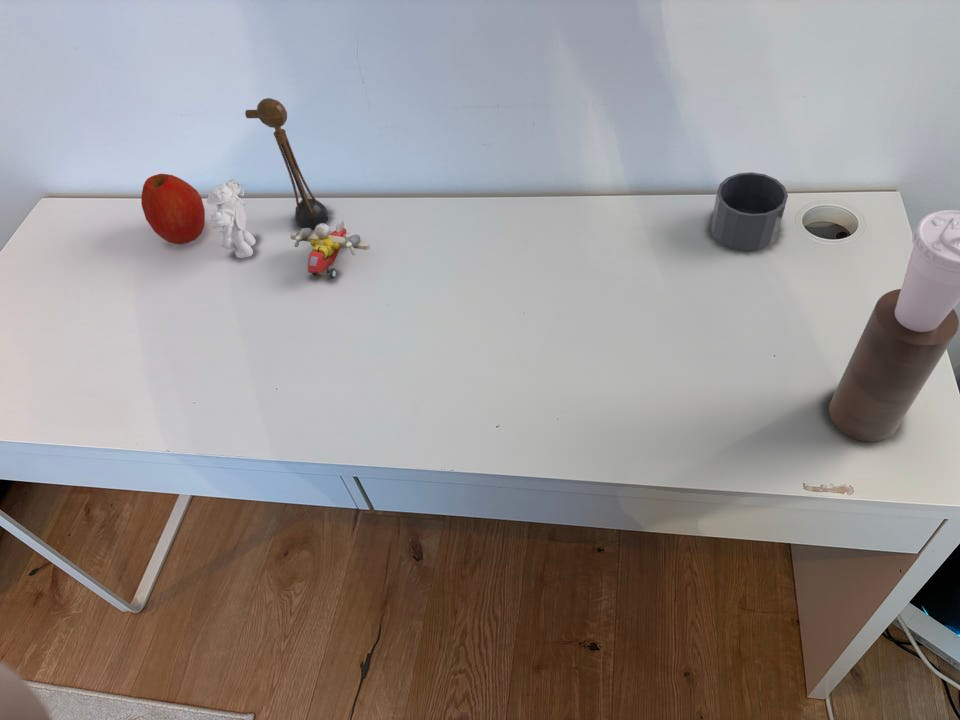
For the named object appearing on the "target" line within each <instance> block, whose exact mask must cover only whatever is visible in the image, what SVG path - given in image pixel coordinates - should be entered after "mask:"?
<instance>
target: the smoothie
mask: <svg viewBox="0 0 960 720" xmlns="http://www.w3.org/2000/svg"><path fill="white" fill-rule="evenodd" d="M911 235H912V245H913V247H912V250H911V253H910V257H909V260H908V263H907V267H906V269H905V270H906V271H905V274H904V277H903V281H902V285H901V288H900V289H901V291H900V294H899V298H898V301H897V305H896V308H895V317H896V319H897V321H898V322H899V323H900V324H901V325H903V326H904V327H906V328H908V329H910V330H913V331H918V332H928V331H932V330H934V329H936V328H937V327H938V326H939V325H940V323H941V322H942V321H943V320H944V319H945V317H946V316H947V315H948V314H949V313H950V312H951V310H952V309H955V307H956V306H957V305H958V303H959V302H960V210H957V209H944V210H938V211H935V212H931V213H929V214H927V215H925V216H924V217H923V218H921V220H920V221H919V222H918V223H917V226H916V227H915V228H914V231H913V232H912V234H911Z"/></svg>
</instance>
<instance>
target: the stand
mask: <svg viewBox="0 0 960 720" xmlns="http://www.w3.org/2000/svg"><path fill="white" fill-rule="evenodd" d="M900 291H901V288H897V289H893V290H889V291H888V292H886V293H884V294H883V295H881V297H879V298H878V300H877V301H876V302H875V303H876V304H875V306H874V308H873V310H872V312H871V314H870V316H869V318H868V320H867V323H866V324H865V327H864V329H863V331H862V333H861V335H860V337H859V340H858V341H857V344H856V346H855V348H854V350H853V352H852V355H851V357H850V359H849V361H848V363H847V365H846V368H845V369H844V372H843V374H842V376H841V378H840V381H839V383H838V385H837V387H836V389H835V391H834V393H833V396H832V398H831V400H830V402H829V406H828V415H829V418H830V419H831V421H832V423H833V425H834V426H835V427H836V428H837V429H838V430H839V431H840V432H842V433H843V434H845V435H846V436H848V437H849V438H852V439H855V440H858V441H861V442H868V443H876V442H881V441H884V440H886V439H888V438H890V437H891V436H893V435H894V433H895V432H896V431H897V430H898V427H899V426H900V424H901V423H902V421H903V419H904V418H905V416H906V415H907V413H908V412H909V410H910V409H911V406H912V405H913V404H914V402H915V401H916V399H917V398H918V395H919V394H920V393H921V391H922V389H923V388H924V386H925V384H927V383H926V382H927V381H928V380H929V378H930V376H931V374H932V373H933V372H934V370H935V368H936V367H937V365H938V363H940V360H941V359H942V357H943V355H944V354H945V352H946V351H947V350H948V348H949V346H950V344H952V343H951V342H952V341H953V339H954V338H955V336H956V335H957V333H958V331H959V327H960V320H959V316H958V314H957V312H956V311H955V308H953V309H952V310H951V312H950V313H949V314H948V315H947V316H946V317H945V319H944V320H943V321H942V322H941V323H940V325H939V326H938V327H937V328H936V329H934V330H932V331H928V332H918V331H913V330H910V329H908V328H906V327H904V326H903V325H901V324H900V323H899V322H898V321H897V319H896V317H895V308H896V305H897V301H898V298H899V294H900Z"/></svg>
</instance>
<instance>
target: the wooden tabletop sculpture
mask: <svg viewBox="0 0 960 720" xmlns="http://www.w3.org/2000/svg"><path fill="white" fill-rule="evenodd" d="M244 115H245V117H246V119H259V121H260V122H261V123H262V124H264V125H265V126H266V127H268V128H272V129H273V128H274V130H275V131H273V136H274V138H275V141H276V143H277V146H278V149H279V151H280V153H281V156H282V159H283V162H284V165H285V167H286V170H287V172H288V175H289V176H288V177H289V178H290V182H291V185H292V188H293V192H294V198H295V202H296V207H295V211H294V213H295V215H294V218H295V223H296V226H297V227H299V228H300V230H301V229H302V228H310V229H311V231H315V228H316V226H317V225H318V224H321V223H323V224H326V223H327V222H328V221H329V212H328V210H327V208H326V206H325V205H324V204H323V203H322V202H320V201H319V200H318V199H316V197H315V196H314V195H313V193H312V191H311V190H310V187H309V185H308V184H307V182H306V180H305V178H304V176H303V174H302V172H301V169H300V166H299V164H298V162H297V159H296V157H295V154H294V152H293V149H292V147H291V144H290V141H289V139H288V136H287V133H286V130H285V129H284V128H282V127H283V126H284V125H285V124H286V122H287V120H288V111H287V109H286V107H285V106H284V105H283V104H282V103H281V102H280V100H277V99H275V98H272V97H266V98H263V99H262V100H260V101H259V102H258V104H257V106H256V109H246V110H245V112H244ZM304 187H305V188H304ZM305 189H306V190H305ZM297 190H298V191H297ZM306 191H307V192H308V194H309V196H310V197H311V198H309V197H308V195H307V193H306ZM298 193H299V195H300V198H301V200H300V201H299V196H298Z"/></svg>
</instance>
